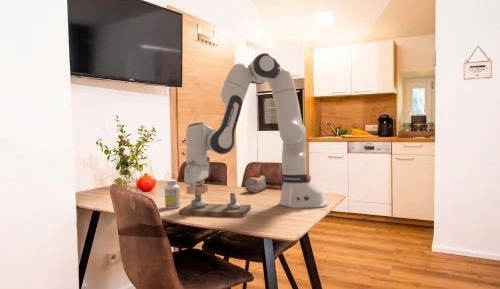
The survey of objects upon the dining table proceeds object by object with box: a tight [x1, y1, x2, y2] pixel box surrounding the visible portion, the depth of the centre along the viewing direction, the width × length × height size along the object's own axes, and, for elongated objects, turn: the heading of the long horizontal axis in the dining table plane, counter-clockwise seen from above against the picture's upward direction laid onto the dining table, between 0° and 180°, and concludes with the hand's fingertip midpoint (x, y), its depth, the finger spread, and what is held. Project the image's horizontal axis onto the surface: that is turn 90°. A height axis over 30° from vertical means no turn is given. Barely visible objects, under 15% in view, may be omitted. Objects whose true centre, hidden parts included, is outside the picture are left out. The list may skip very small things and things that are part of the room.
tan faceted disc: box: [185, 183, 209, 195], centre depth 157 cm, size 7×7×3 cm
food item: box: [244, 173, 267, 194], centre depth 203 cm, size 14×8×10 cm, turn 155°
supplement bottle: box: [164, 178, 181, 210], centre depth 166 cm, size 7×7×13 cm
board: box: [178, 192, 252, 218], centre depth 156 cm, size 28×14×10 cm, turn 77°
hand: (197, 191), depth 157 cm, fingers closed on tan faceted disc, 7 cm apart
